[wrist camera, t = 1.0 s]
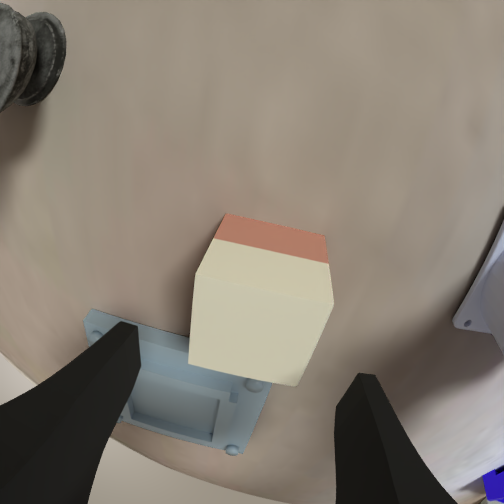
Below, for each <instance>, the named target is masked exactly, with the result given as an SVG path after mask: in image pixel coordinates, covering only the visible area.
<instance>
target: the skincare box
mask: <svg viewBox="0 0 504 504" xmlns="http://www.w3.org/2000/svg"><path fill="white" fill-rule="evenodd" d="M480 504H504V503H501V502H498V501H488V500H487V497H485V499H484V500H483V501H482V502H481V503H480Z"/></svg>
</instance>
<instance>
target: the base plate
mask: <svg viewBox="0 0 504 504" xmlns="http://www.w3.org/2000/svg"><path fill="white" fill-rule="evenodd" d="M120 321H123V322H126V323H130V324H133V325H136V326H138V333H139V346H140V356H141V368H140V371H139V374H138V377H137V380H136V382H135V385H134V388H133V390H132V393H131V395H130V397H129V399H128V401H127V403H126V405H125V407H124V409H123V411H122V413H121V415H120V417H119V419H118V421H117V423H121V421H124V422H127V423H129V424H132V425H135V426H138V427H141V428H144V429H147V430H150V431H153V432H157V433H160V434H163V435H166V436H170V437H173V438H177V439H181V440H184V441H188V442H192V443H196V444H200V445H204V446H208V447H212V448H217V449H222V450H226V454H228V455H232V456H235V455H238V453H241V454H243V452H244V450H245V448H246V446H247V443H248V441H249V439H250V436H251V434H252V432H253V429H254V427H255V425H256V422H257V420H258V417H259V415H260V413H261V410H262V408H263V405H264V403H265V400H266V398H267V395H268V393H269V390H270V388H271V385H272V383H271V382H266V381H261V380H256V379H251V378H246V377H241V376H237V375H232V374H228V373H224V372H219V371H215V370H211V369H207V368H203V367H199V366H195V365H191V364H188V356H189V342H190V338H189V337H185V336H181V335H177V334H174V333H170V332H166V331H163V330H159V329H156V328H152V327H149V326H145V325H142V324H138V323H135V322H132V321H129V320H125V319H122V318H119V317H116V316H113V315H109V314H106V313H103V312H100V311H97V310H94V309H91V311H90V312H89V313H88V315H87V316H86V317H85V319H84V320H83V322H84V327H85V331H86V336H87V340H88V344H89V347H90V346H91V345H93V344H94V343H95V342H96V341H97V340H98V339H100V338H101V337H102V336H103V335H104V334H106V333H107V332H108V331H109V330H110V329H111V328H112V327H114V326H115V325H116V324H117V323H118V322H120Z"/></svg>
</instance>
